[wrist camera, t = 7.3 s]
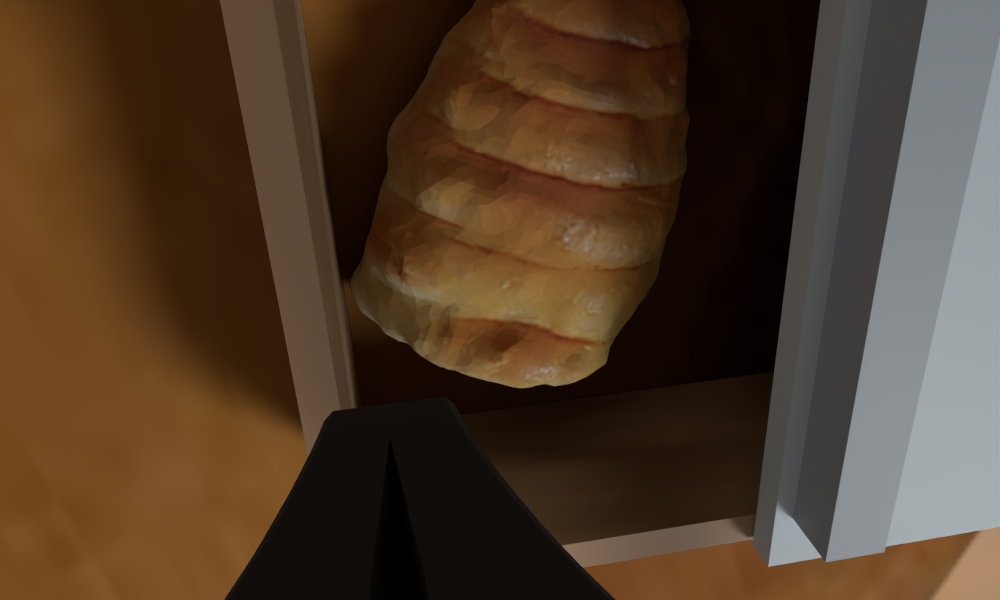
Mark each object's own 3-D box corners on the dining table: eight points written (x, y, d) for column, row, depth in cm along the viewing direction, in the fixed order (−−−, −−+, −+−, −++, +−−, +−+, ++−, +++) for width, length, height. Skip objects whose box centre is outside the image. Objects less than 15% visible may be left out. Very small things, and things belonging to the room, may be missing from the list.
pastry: (442, -122, 15) (469, -137, 12) (735, -18, 17) (832, -5, 14) (341, 301, 19) (340, 383, 15) (595, 348, 21) (644, 431, 17)
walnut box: (341, 453, 20) (337, 608, 16) (242, -132, 14) (188, -163, 10) (817, 386, 22) (941, 507, 17) (902, -160, 16) (1124, -198, 11)
